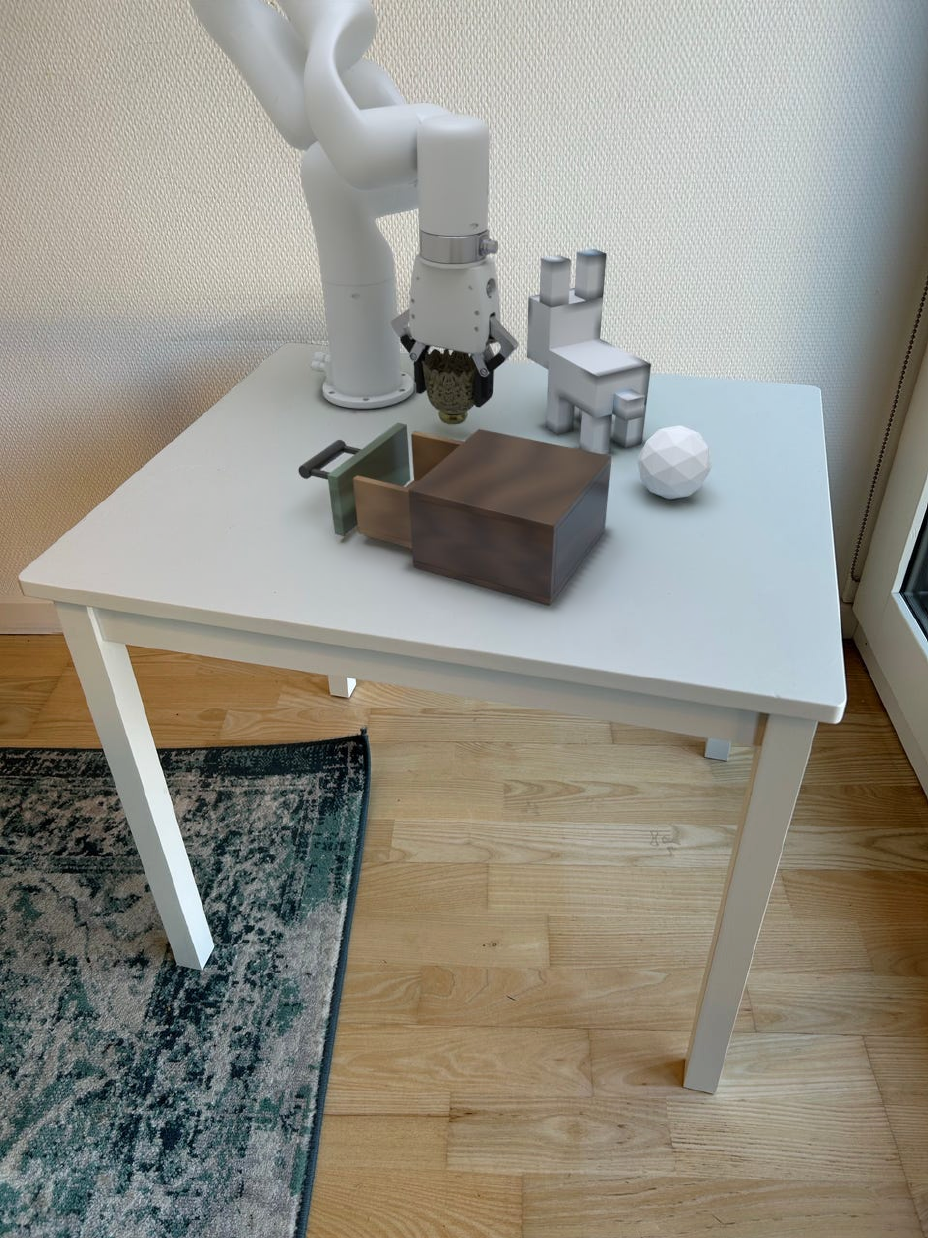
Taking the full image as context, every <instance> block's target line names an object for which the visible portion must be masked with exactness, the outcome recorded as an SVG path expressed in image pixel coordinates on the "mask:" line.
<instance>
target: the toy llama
mask: <svg viewBox="0 0 928 1238" xmlns="http://www.w3.org/2000/svg"><path fill="white" fill-rule="evenodd" d="M607 256H608V253H606V252H604V251H601V250H599V249H596V248H591V249H590V248H589V249H585V250H579V251H578V250H577V251H576V260H575V274H574V275H575V279H574V287H571V270H572V259H571V258H568V257H565V256H563V255H561V254H556V255H551V256H545V257H540V272H539V273H540V276H539V277H540V278H539V294H535V295H530V296H527V300H528V301H527V330H526V333H527V334H526V358H527V359H529V360H531V361H532V362H534V363H536V364H537V365H539V366H541V367H543V368H545V369H546V370H547V371H548V372H547V373H548V374H547V393H546V394H547V395H546V418H545V428H547V429H548V430H549V431H551V432H552V433H554V434H556V435H560V434H564V433H567V432H569V431H574V427H575V409H576V408H577V409H578V419H579V420H580V421H581V423H580V424H581V425H580V440H579V450H584V451H589V452H594V453H599V454H604V455H607V454H609V452H610V442H611V434H612V433H611V432H612V431H611V430H612V421H613V416H614V426H613V437H612V440H613V442H615V443H617V445H620V446H621V447H623V448H625V449H627V448H631V447H634V446H638V445H641V444H643V437H644V429H645V420H646V419H645V418H646V412H647V403H648V393H649V387H650V386H649V385H650V378H651V377H650V376H651V368H652V363H650V362H648V361H646V360H644V359H642V358H640V357H638V356H636V355H634V354H632V353H631V352H628V351H626V350H624V349H622V348H621V347H618V346H616V345H614V344H612V343H610V342H608V341H606V340H604V339H603V338H601V333H602V322H603V321H602V319H603V307H604V294H605V283H606V281H605V280H606V269H607Z"/></svg>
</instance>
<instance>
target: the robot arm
mask: <svg viewBox="0 0 928 1238" xmlns="http://www.w3.org/2000/svg"><path fill="white" fill-rule="evenodd" d="M276 1H277V3H278V5H279V6H280V8H281V9H282V11H283V12H284V13H283V14H284V15H285V16H286V17H285V16H284V15H283V14H282V13H281V12H279V11H278V10H277V9H276V8H274V7H272V6H271V5H269V4H268V3H266V2H265V1H263V0H188V3H189V4H190V7H191V9H192V10H193V13H194V14H195V16H196V18H197V19H198V21H199V23H200V24H201V26H202V27H203V29H204V30H205V32H206V33H207V34H208V35H209V37H210V38H211V39H212V41H214V43H215V44H216V45H217V46H218V47H219V49H220V50H221V51H222V52H223V54H225V55H226V57H228V59H229V60H230V61H231V62H232V63H233V65H234V66H235V67H236V68H237V70H238V71H239V72H240V74H241V75H242V77H243V79H244V81H245V82H246V84H247V85H248V87H249V89H250V90H251V91H252V93H253V95H254V96H255V98H256V100H257V101H258V103H259V104H260V106H261V108H262V109H263V111H264V112H265V114H266V115H267V117H268V119H269V120H270V121H271V124H273V125H272V126H274V128H275V129H276V131H277V132H278V133H279V135H280V136H281V137H282V139H283V140H284V141H285V142H286V144H288V145H289V146H290V147H291V148H294V149H296V150H299V151H305V153H304V155H303V157H302V159H301V162H300V180H301V181H300V182H301V186H302V190H303V195H304V198H305V201H306V205H307V209H308V212H309V215H310V220H311V223H312V227H313V228H312V229H313V231H314V237H315V242H316V249H317V256H318V262H319V273H320V280H321V288H322V296H323V297H322V298H323V305H324V314H325V322H326V323H325V324H326V330H327V331H326V332H327V340H328V349H329V350H328V351H329V353H328V352H322V351H319V350H318V351H317V350H316V351H315V352H314V354H313V357H312V361H311V363H310V370H312V371H314V372H317V373H324V374H325V381H324V382H323V384H322V387H321V388H322V395H323V397H324V399H326V401H328V402H329V403H331V404H333V405H336V406H339V407H343V408H348V409H356V410H357V409H359V410H360V409H362V410H366V409H367V410H368V409H378V408H385V407H389V406H392V405H396V404H398V403H401V402H403V401H404V400H406V399H408V398H409V397H410V396H411V395H412V394H413V392H414V390H415V393H416V394H419V395H421V394H423V393H425V392H427V391H426V385H425V378H424V370H423V363H422V360H423V361H424V362H425V354H426V353H428V354H429V355H430V353H429V352H430V351H431V350H430V349H431V348H432V347H435V348H439V349H442V350H443V349H444V350H445V349H448V350H449V351H452V352H453V351H458V352H463V353H468V354H469V355H470V354H471V356H472V358H473V360H474V362H475V365H476V367H477V369H478V371H479V373H478V374H477V375H476V376H475V386H474V406H475V407H476V408H479V409H480V408H482V407H483V406H484V405H486V403H487V402H488V401H490V400H491V399H492V397H493V394H494V383H495V382H494V379H495V377H494V376H495V370H496V369H498V368H499V367H500V366H501V365H502V364H504V363H505V362H506V361H508V359H509V358H510V357H511V356H512V355H513V353H514V352H515V351H516V350H517V349H518V348H519V346H520V345H519V342H518V340H517V339H516V338H515V337H514V336H513V335H512V334H511V333H510V332H509V331H508V329H506V327H504V325H503V324H502V323H501V306H500V290H499V289H500V288H499V280H498V274H497V269H496V264H495V260H494V258H493V257H489V255H490V254H492V255H495V254H497V252H498V251H499V242H498V241H497V240H494V239H492V238H490V229H489V196H490V195H489V194H490V193H489V192H490V191H489V190H490V154H491V153H490V152H491V151H490V150H491V146H490V144H491V134H490V130H489V127H488V125H487V123H486V122H485V121H484V120H483V119H482V118H480V117H477V116H473V115H469V114H457V113H454V112H451V111H450V110H448V109H447V108H445V107H443V106H441V105H439V104H436V103H432V102H417V103H416V102H415V103H408V102H407V100H406V98H404V96H403V94H402V93H401V92H400V90H399V88H398V87H397V85H396V84H395V82H394V81H393V79H392V78H391V77H390V75H389V74H388V73H387V71H386V69H384V68H383V67H382V66H381V65H380V64H378V63H377V62H375V61H374V60H371V59H369V58H367V57H364V55H365V54H366V53H367V51H368V50H369V48H370V47H371V45H372V44H373V41H374V39H375V36H376V33H377V27H378V19H377V14H376V10H375V8H374V6H373V5H372V3H371V1H370V0H276ZM417 209H418V210H417ZM413 210H417V211H418V214H417V215H418V244H419V245H418V246H419V247H418V248H419V252H418V253H417V254H416V255H415V256H414V261H413V267H412V270H411V271H412V272H411V278H410V286H409V288H410V289H409V302H408V303H409V304H408V309H406V310H404V312H403V311H402V313H400V314H398V313H399V311H398V298H397V297H398V295H397V282H396V281H397V280H396V266H395V265H396V264H395V258H394V253H393V250H392V247H391V245H390V244H389V241H388V240H387V239H386V237H385V236H384V234H383V233H382V232H381V230H380V228H379V226H378V225H377V222H376V219H379V218H384V217H385V216H390V215H395V214H400V213H406V212H409V211H413ZM496 343H498V344H499V345H500V348H499V351H498V352H497V353H494V350H493V348H492V344H496ZM401 345H402V346H403V347H404V349H405V350H406V351H407V353H408V358H409V360H410V361H411V362H413V377H412V376H410V375H409V374H408V373H406V372H405V371H403V370H402V359H401V358H402V357H401ZM414 383H415V386H414ZM414 388H415V389H414Z"/></svg>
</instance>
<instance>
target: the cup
mask: <svg viewBox="0 0 928 1238" xmlns="http://www.w3.org/2000/svg"><path fill="white" fill-rule="evenodd" d="M429 354H430V355H429ZM429 354H428V353H426V354H425V362H424V361H423V360H422V363H423V370H424V378H425V385H426V391H425V392H426V395H427V398H428V401H429V402H430V404H431V406H432V407H433V408H434V409H435V410H436V411H438V413H437V415H438V418H439V421H441V422H442V423H443V424H446V425H452V426H453V425H460V424H463V423H464V422H466V420H467V418H468V416H469V412H468V411H470V410H472V408H473V407H474V406H475V405H474V386H475V376H476V375H477V374H478V373H479V371H478V369H477V367H476V365H475V362H474V360H473V358H472V356H471V354H468V353H463V352H458V351H453V350H452V351H451V352H450V350H448V349H444V350H443V352H441V351H440V350H438V349H437V348H433V350H431V352H430V353H429Z"/></svg>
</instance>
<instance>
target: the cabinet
mask: <svg viewBox="0 0 928 1238" xmlns="http://www.w3.org/2000/svg"><path fill="white" fill-rule="evenodd" d="M611 469H612V455H609V454H599V453H594V452H589V451H584V450H580V448H579V449H578V448H575V447H569V446H565V445H564V446H563V445H561V444H560V445H559V444H554V443H549V442H544V441H541V440H540V441H539V440H535V439H532V438H531V439H530V438H526V437H520V436H516V435H510V434H506V433H501V432H495V431H491V430H486V429H482V428H478V429H477V430H476V431H475V432H474V433H472V434H471V435H470V436H469V437H468V438H466V439H465V440H464V442H463V443H462V444H461V445H460V446H459V447H457V448H456V449H455V450H454V451H453V452H452V453H451V454H449V455H448V456H447V457H446V458H445V459H444V460H442V461H441V462H440V463H439V464H438V465H437V466H435V467H434V468H433V469H432V470H431V471H430V472H429V473H427V474H426V475H425V476H424V477H423V478H422V479H420V480H419V481H418V482H417V483H416V484H415V485H413V486H412V487H411V488H410V489H409V490H408V493H409V509H410V525H411V540H412V548H411V554H412V567H413V568H415V569H420V570H422V571H426V572H430V573H433V574H437V575H441V576H444V577H448V578H451V579H454V580H458V581H461V582H465V583H469V584H472V585H476V586H479V587H482V588H485V589H486V588H487V589H489V590H494V591H497V592H501V593H504V594H507V595H511V596H515V597H518V598H523V599H525V600H529V601H532V602H536V603H540V604H542V605H546V606H551V605H552V603H553V602H554V600H555V599H556V598H557V596H558V595H559V594H560V593H561V591H562V590H563V588H564V587H565V586H566V584H567V583H568V582H569V580H570V579H571V577H572V576H573V575H574V573H575V572H576V571H577V570H578V568H579V567H580V565H581V564H582V562H583V561H584V560H585V559H586V557H587V556H588V554H589V553H590V552H591V550H592V549H593V548H594V546H595V545H596V544H597V542H598V541H599V540H600V538H601V537H602V535H603V534H604V533H605V530H606V521H607V513H608V511H607V510H608V501H609V491H610V479H611Z"/></svg>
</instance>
